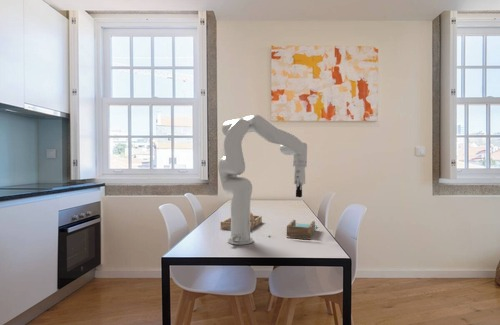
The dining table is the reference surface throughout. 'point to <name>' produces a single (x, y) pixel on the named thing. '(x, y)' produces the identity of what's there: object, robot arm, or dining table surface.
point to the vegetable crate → (257, 220)
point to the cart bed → (300, 230)
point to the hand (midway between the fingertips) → (298, 196)
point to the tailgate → (304, 225)
